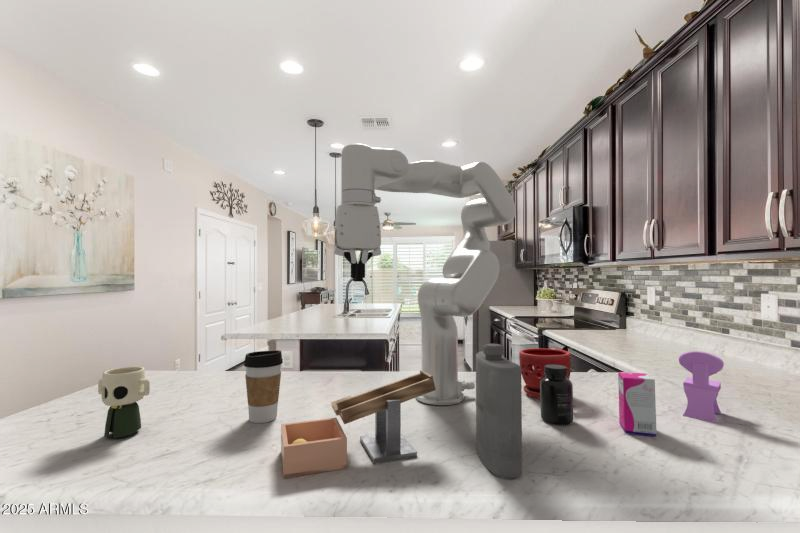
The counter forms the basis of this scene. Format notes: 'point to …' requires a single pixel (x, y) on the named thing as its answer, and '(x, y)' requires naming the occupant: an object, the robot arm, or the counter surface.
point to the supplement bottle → (556, 396)
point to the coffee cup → (263, 384)
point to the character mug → (123, 399)
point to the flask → (498, 412)
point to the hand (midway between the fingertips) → (357, 281)
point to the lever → (383, 397)
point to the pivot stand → (388, 436)
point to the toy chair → (701, 384)
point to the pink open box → (313, 447)
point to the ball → (299, 441)
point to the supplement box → (637, 403)
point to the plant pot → (540, 366)
